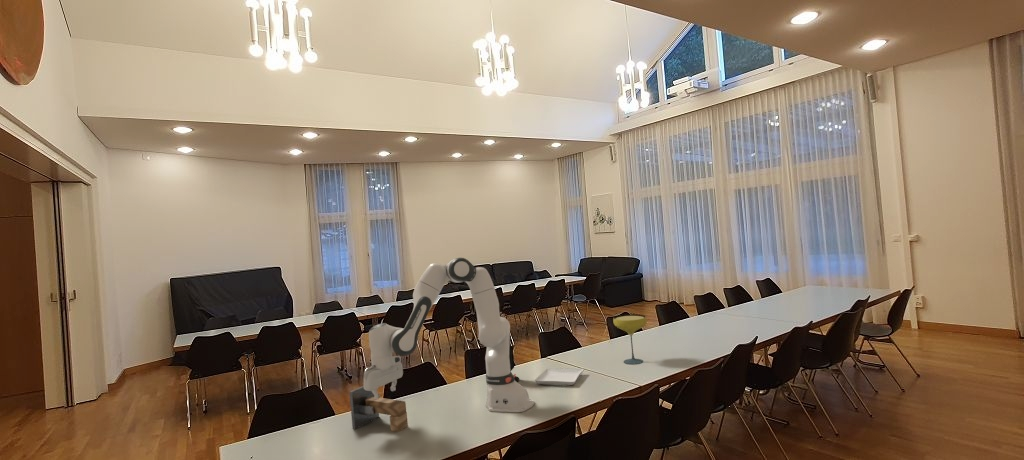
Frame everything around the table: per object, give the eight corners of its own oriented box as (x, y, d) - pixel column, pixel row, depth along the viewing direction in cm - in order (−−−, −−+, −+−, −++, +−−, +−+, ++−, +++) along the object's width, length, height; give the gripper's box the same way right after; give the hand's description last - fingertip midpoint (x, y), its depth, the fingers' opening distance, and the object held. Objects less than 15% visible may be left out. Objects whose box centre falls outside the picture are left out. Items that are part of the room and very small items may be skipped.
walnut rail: (406, 413, 203) (405, 401, 203) (399, 416, 199) (398, 404, 199) (373, 407, 213) (372, 396, 213) (366, 411, 210) (365, 399, 210)
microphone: (500, 387, 245) (496, 338, 245) (489, 381, 257) (485, 334, 257) (523, 381, 251) (519, 333, 251) (512, 375, 263) (508, 330, 263)
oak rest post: (407, 426, 204) (406, 411, 204) (397, 431, 199) (396, 417, 199) (400, 424, 206) (399, 410, 206) (390, 430, 201) (389, 416, 201)
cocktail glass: (654, 364, 260) (649, 318, 260) (620, 367, 260) (616, 321, 261) (645, 356, 278) (641, 313, 278) (614, 358, 278) (610, 315, 279)
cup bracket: (392, 418, 214) (389, 383, 214) (368, 431, 202) (365, 393, 202) (376, 416, 219) (373, 381, 219) (352, 428, 207) (349, 391, 207)
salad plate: (534, 386, 242) (533, 380, 242) (546, 374, 262) (546, 367, 262) (575, 388, 234) (574, 381, 234) (585, 375, 254) (584, 368, 254)
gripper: (369, 369, 195) (372, 403, 195) (403, 356, 213) (406, 387, 213) (358, 369, 198) (361, 402, 198) (393, 355, 216) (396, 386, 216)
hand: (385, 394), depth 206 cm, fingers open, 8 cm apart
